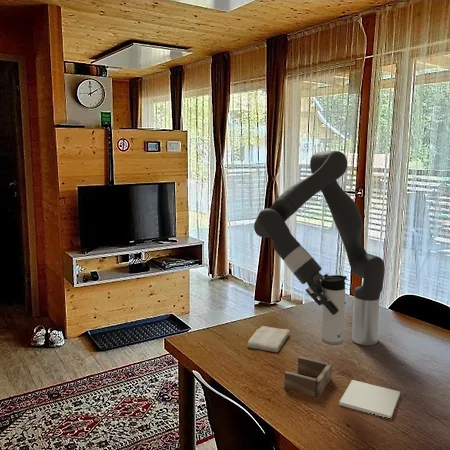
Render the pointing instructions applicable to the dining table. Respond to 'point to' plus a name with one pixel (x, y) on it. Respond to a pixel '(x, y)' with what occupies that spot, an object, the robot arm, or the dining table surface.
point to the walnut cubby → (308, 383)
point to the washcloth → (268, 339)
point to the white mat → (370, 399)
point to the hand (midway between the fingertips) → (339, 309)
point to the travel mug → (335, 323)
